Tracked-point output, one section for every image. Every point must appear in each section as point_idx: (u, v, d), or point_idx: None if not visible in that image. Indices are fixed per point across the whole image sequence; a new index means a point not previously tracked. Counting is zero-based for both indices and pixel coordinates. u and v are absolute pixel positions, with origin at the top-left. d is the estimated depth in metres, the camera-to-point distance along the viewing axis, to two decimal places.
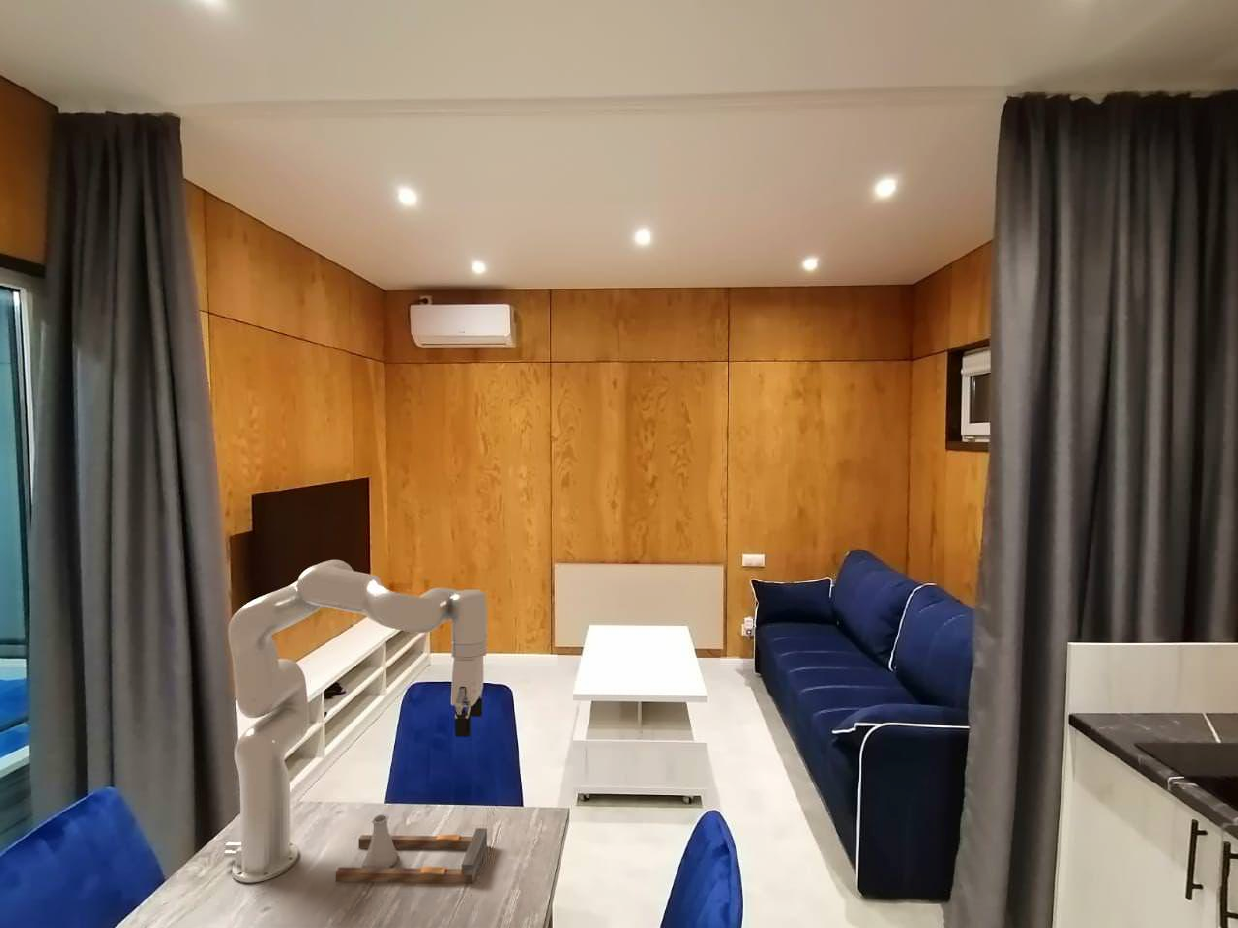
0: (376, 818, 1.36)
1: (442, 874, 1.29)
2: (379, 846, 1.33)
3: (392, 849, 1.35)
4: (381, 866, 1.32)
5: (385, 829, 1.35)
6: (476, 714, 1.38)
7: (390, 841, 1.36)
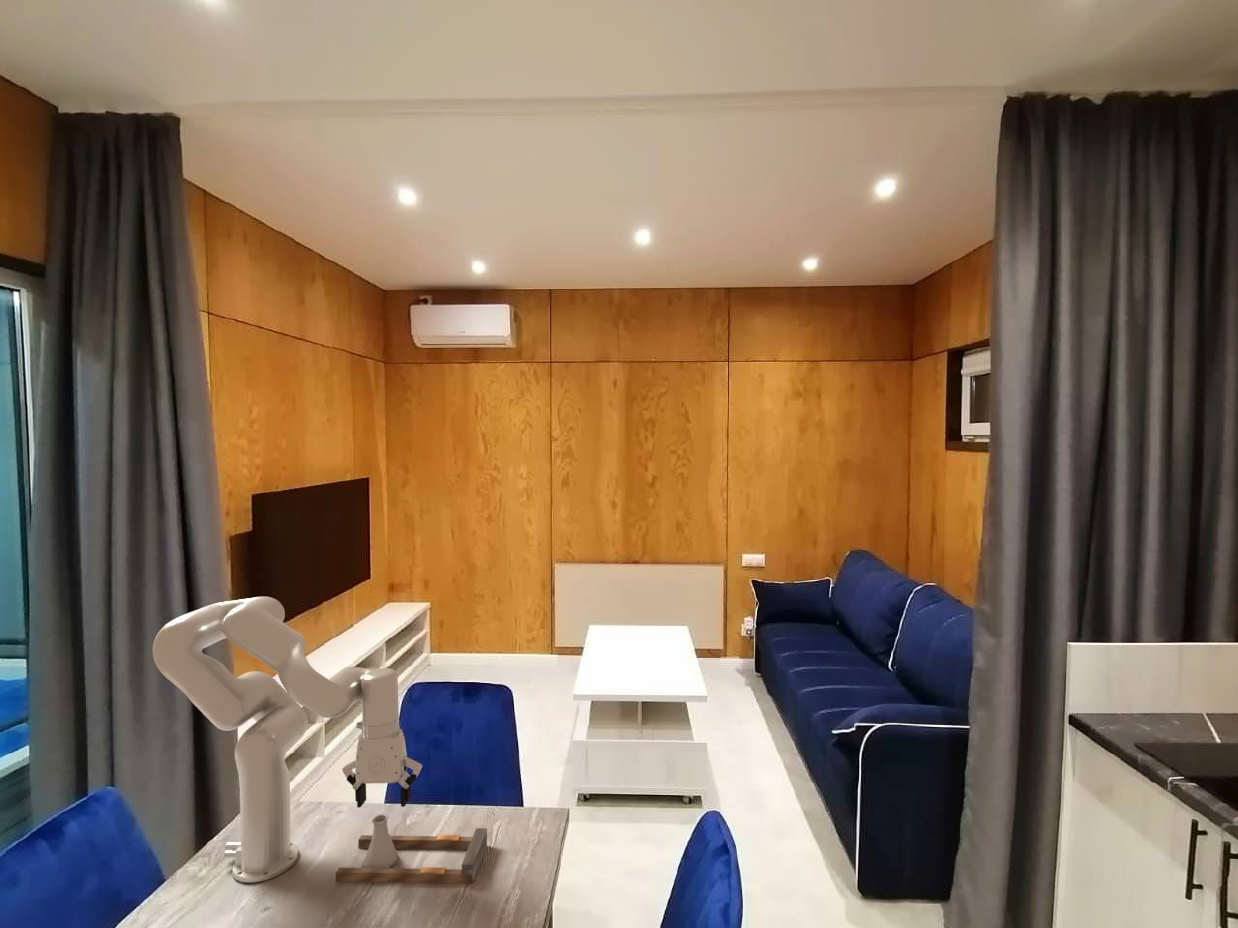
0: (376, 818, 1.36)
1: (442, 874, 1.29)
2: (379, 846, 1.33)
3: (392, 849, 1.35)
4: (381, 866, 1.32)
5: (385, 829, 1.35)
6: (364, 800, 1.36)
7: (390, 841, 1.36)
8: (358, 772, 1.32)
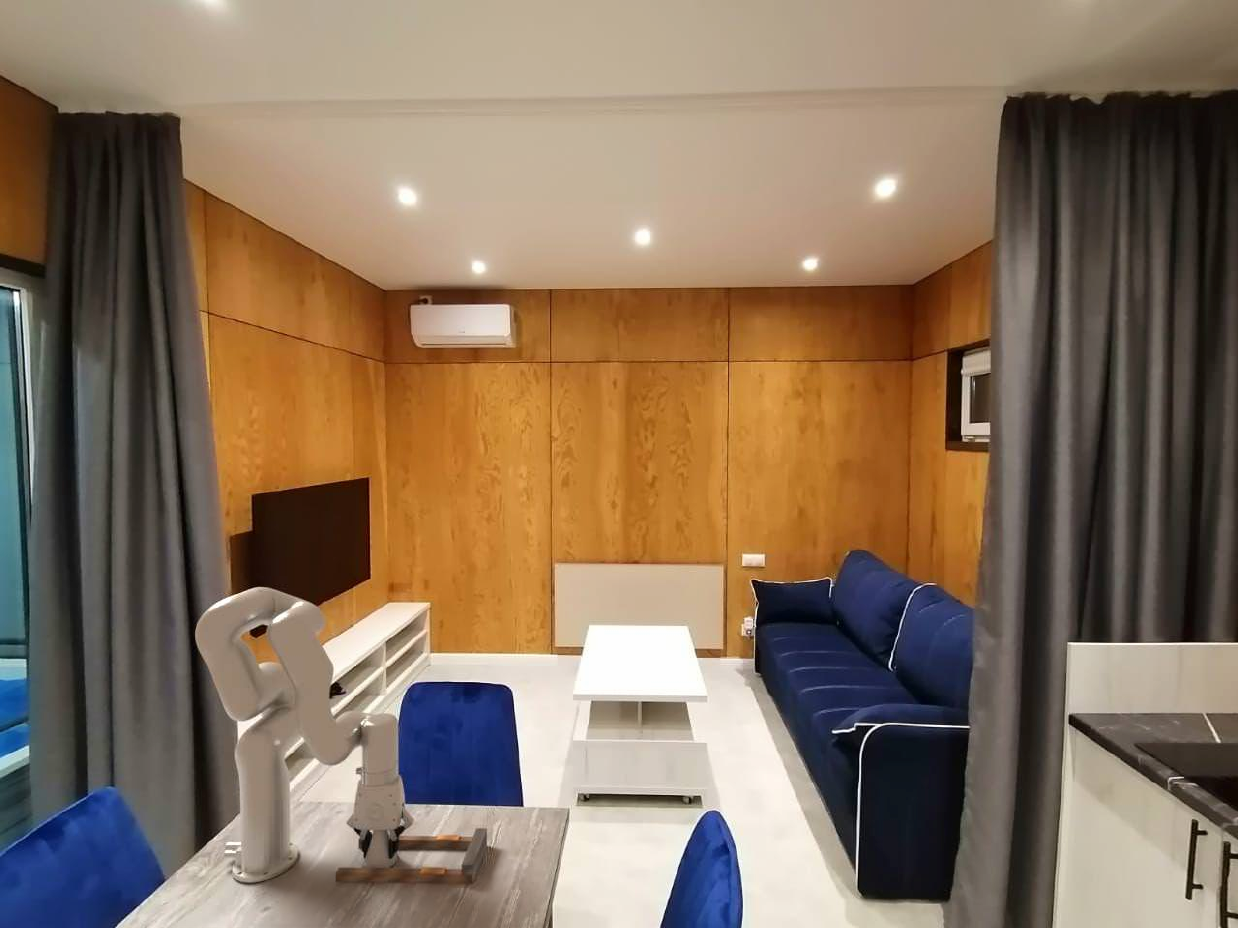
0: None
1: (442, 874, 1.29)
2: (379, 846, 1.33)
3: None
4: (381, 866, 1.32)
5: None
6: None
7: None
8: (356, 818, 1.32)
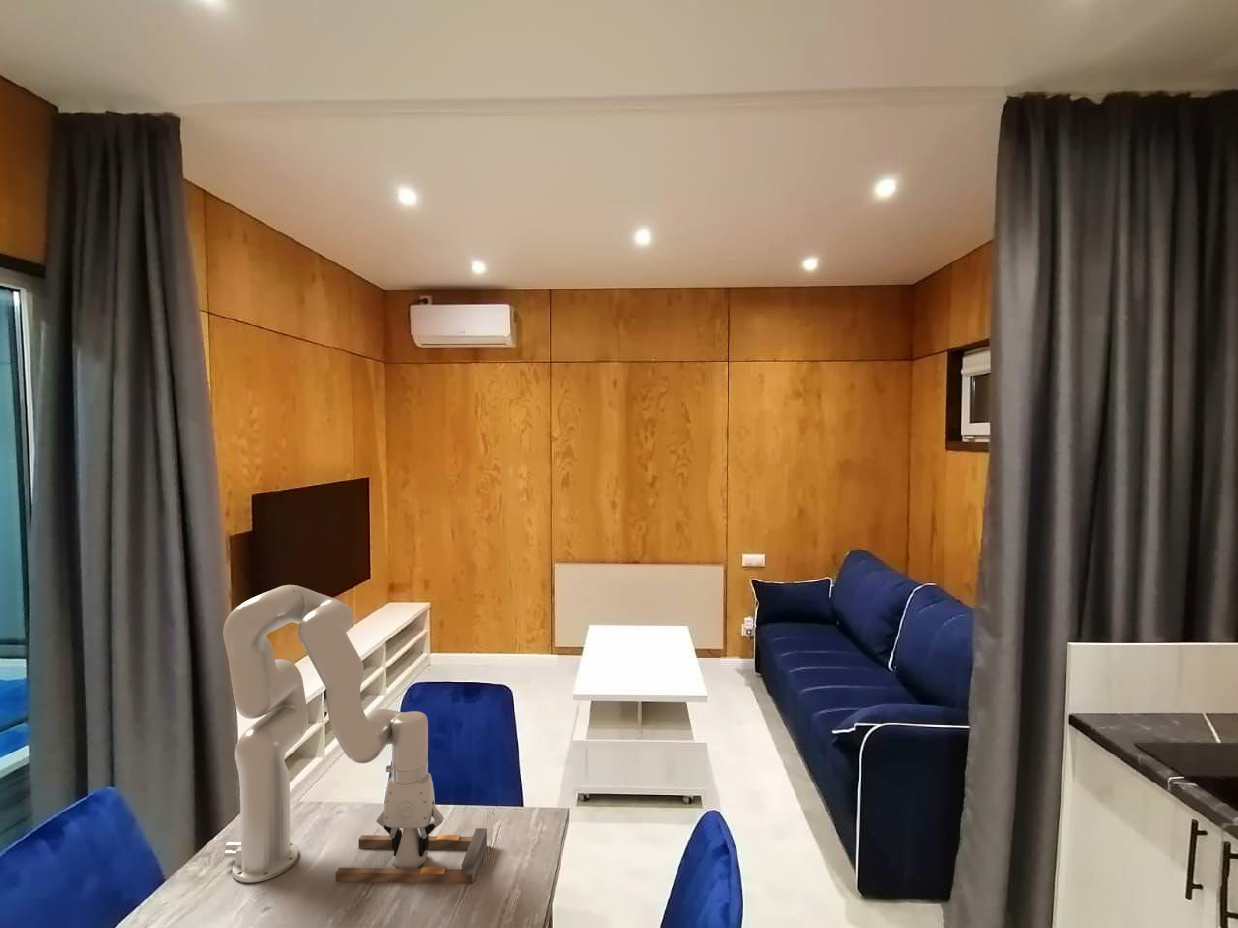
0: None
1: (442, 874, 1.29)
2: (409, 843, 1.33)
3: None
4: (412, 864, 1.32)
5: None
6: None
7: None
8: (387, 816, 1.32)
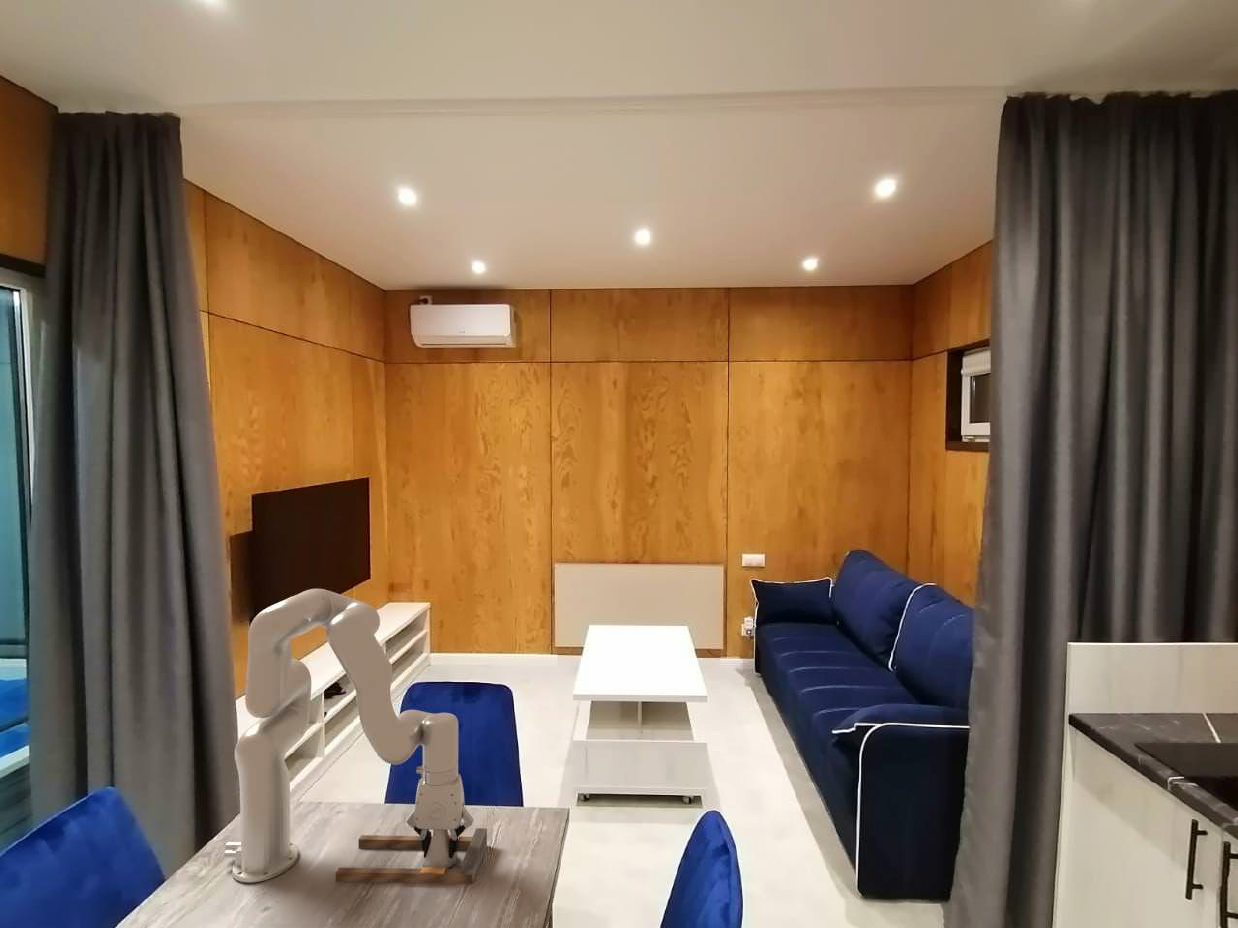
0: None
1: (442, 874, 1.29)
2: (439, 845, 1.33)
3: None
4: (442, 865, 1.32)
5: None
6: None
7: None
8: (417, 818, 1.32)
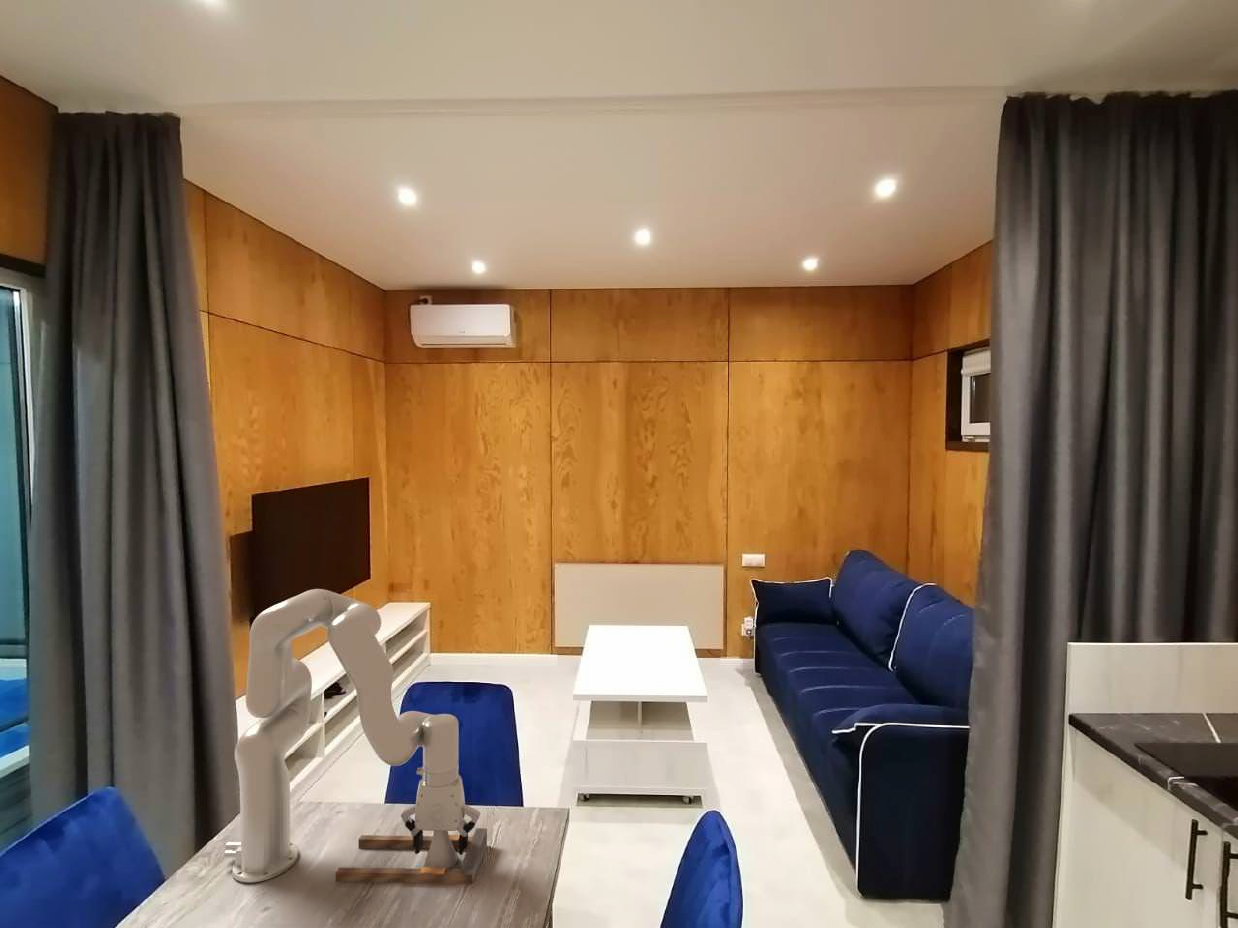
0: None
1: (442, 874, 1.29)
2: (439, 847, 1.33)
3: (452, 850, 1.35)
4: None
5: None
6: (421, 846, 1.36)
7: (450, 842, 1.35)
8: (418, 819, 1.32)
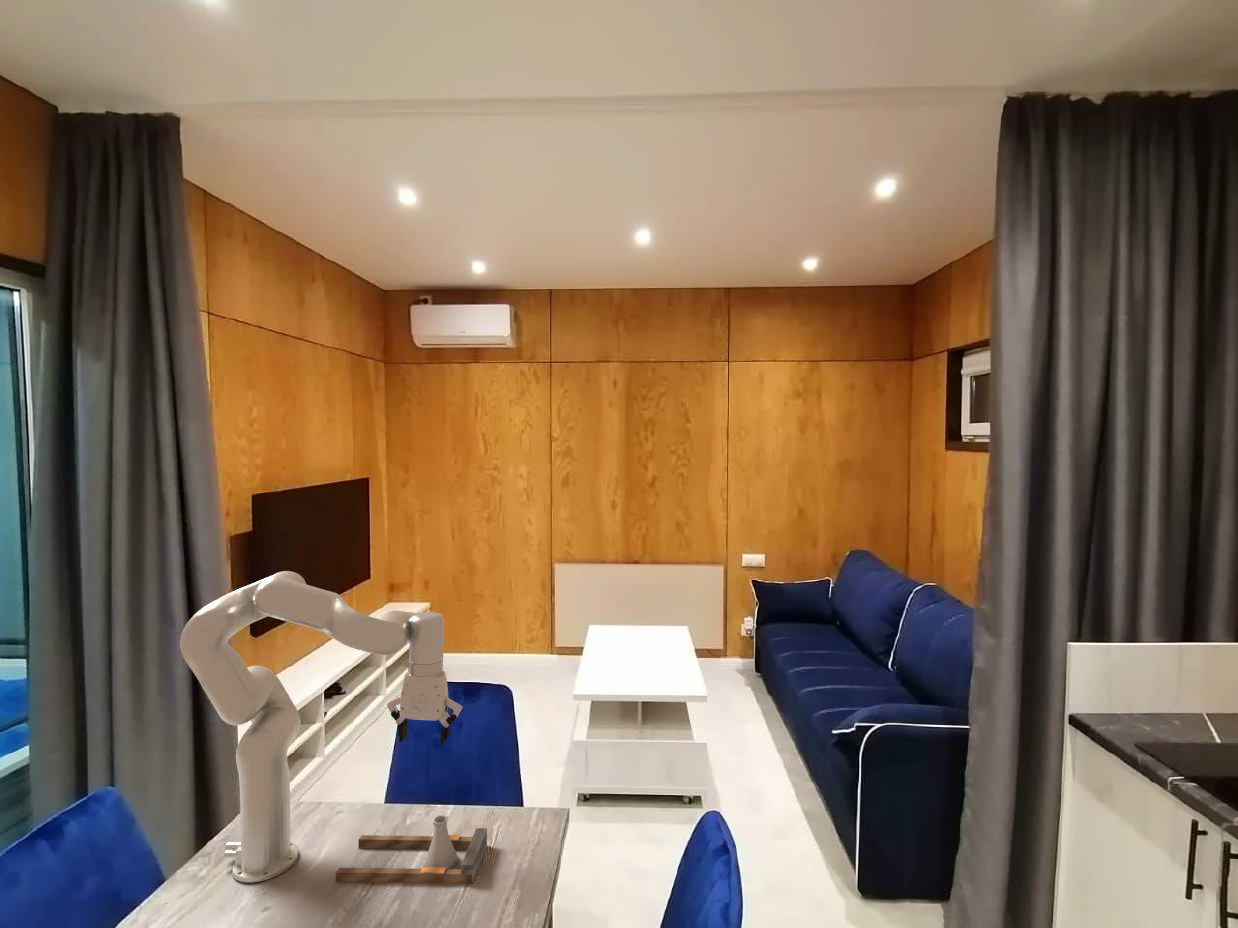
0: (436, 819, 1.35)
1: (442, 874, 1.29)
2: (440, 847, 1.33)
3: (452, 850, 1.35)
4: None
5: (445, 830, 1.35)
6: (405, 736, 1.42)
7: (450, 842, 1.35)
8: (402, 708, 1.39)
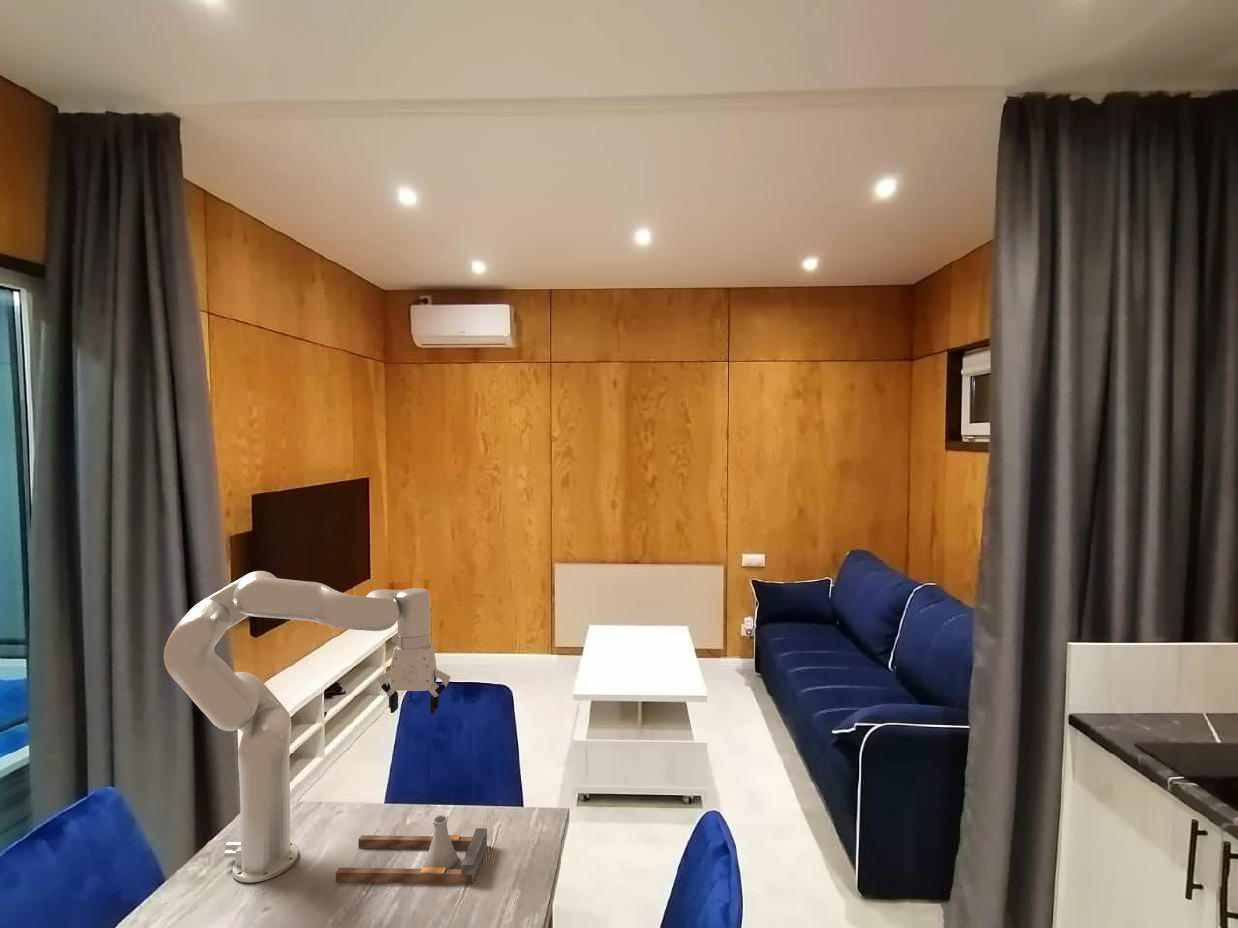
0: (436, 819, 1.35)
1: (442, 874, 1.29)
2: (440, 847, 1.33)
3: (452, 850, 1.35)
4: None
5: (445, 830, 1.35)
6: (396, 707, 1.48)
7: (450, 842, 1.35)
8: (392, 680, 1.45)
